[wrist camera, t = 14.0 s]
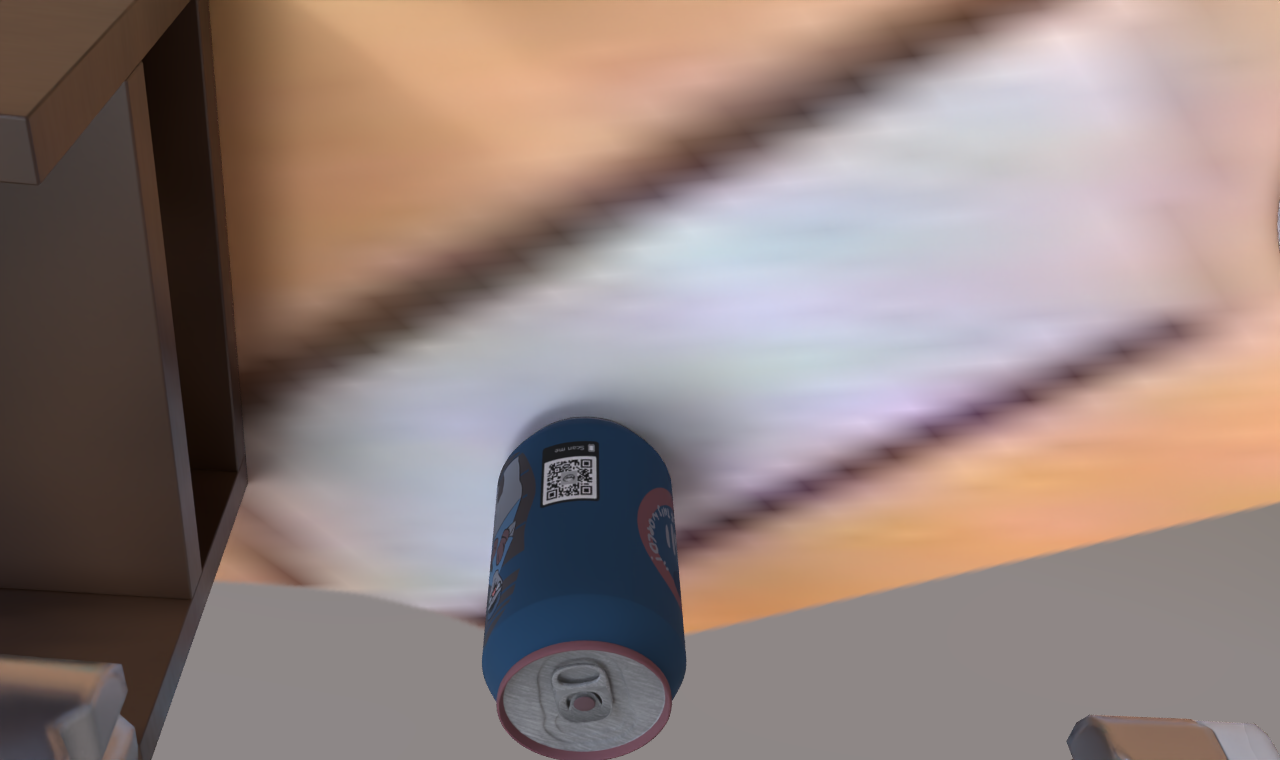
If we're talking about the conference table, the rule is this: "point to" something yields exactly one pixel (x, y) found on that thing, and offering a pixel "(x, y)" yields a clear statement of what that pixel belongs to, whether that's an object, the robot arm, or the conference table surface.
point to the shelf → (114, 340)
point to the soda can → (584, 593)
